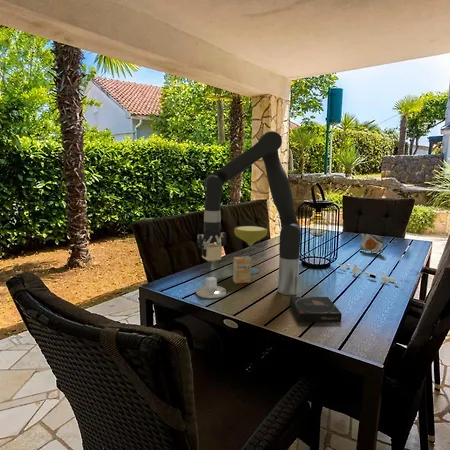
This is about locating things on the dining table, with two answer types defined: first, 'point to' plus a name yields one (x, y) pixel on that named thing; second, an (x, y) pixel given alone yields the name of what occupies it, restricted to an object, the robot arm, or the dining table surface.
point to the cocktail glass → (250, 236)
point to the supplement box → (242, 269)
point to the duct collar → (213, 252)
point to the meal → (372, 243)
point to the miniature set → (369, 273)
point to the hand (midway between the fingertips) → (211, 255)
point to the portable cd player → (315, 309)
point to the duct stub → (211, 289)
